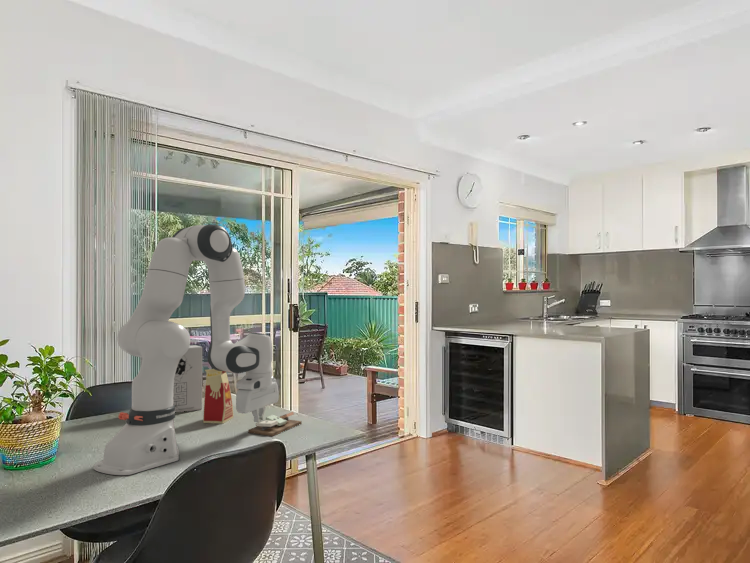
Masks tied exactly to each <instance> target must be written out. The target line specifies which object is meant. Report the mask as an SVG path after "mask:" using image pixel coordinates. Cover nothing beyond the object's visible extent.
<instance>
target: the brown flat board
mask: <svg viewBox="0 0 750 563" xmlns="http://www.w3.org/2000/svg"><path fill="white" fill-rule="evenodd" d="M284 420H287V422H286V423H285V424H283V425H281V426H278V425H274V426H271V427H266V426H255V427H253V428H252V427H251V428H250V429H248V430H247V431H248V433H249V434H253V435H254V434H255V435H262V436H269V437H275V436H277V435H279V434H281V432H282V433H284V432H286V431H289V430H291V429H293V428H295V426H296V427H298V426H300V425H302V420H295V419H289V417H286V418H284ZM299 424H300V425H299ZM297 425H298V426H297ZM292 427H293V428H292ZM290 428H291V429H290ZM288 429H289V430H288ZM285 430H286V431H285ZM283 431H284V432H283Z"/></svg>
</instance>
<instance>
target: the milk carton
mask: <svg viewBox="0 0 750 563" xmlns="http://www.w3.org/2000/svg"><path fill="white" fill-rule="evenodd" d="M204 371H205V372H206V373H205V374H206V375H205V384H204V385H205V386H204V387H205V388H204V401H203V421H202V423H203V424H218V425H219V424H221V425H223V424H225V423H227V422H229V421H231V420H232V419H234V406H233V400H232V399H233V398H232V391H231V387H230V382H229V377H228V374H227V373H228V372H226V371H217V370H215V369H213V368H210V369H204Z"/></svg>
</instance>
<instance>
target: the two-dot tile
mask: <svg viewBox="0 0 750 563" xmlns="http://www.w3.org/2000/svg"><path fill="white" fill-rule="evenodd" d="M265 420H267V421H278V424H276V425H278V426H281V425H283V424H285V423H286V422H287V420H284V419H282V418H280V416H277V415H274V414H271V415H268V416H265Z"/></svg>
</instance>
